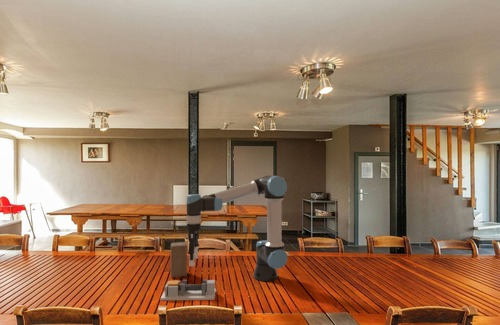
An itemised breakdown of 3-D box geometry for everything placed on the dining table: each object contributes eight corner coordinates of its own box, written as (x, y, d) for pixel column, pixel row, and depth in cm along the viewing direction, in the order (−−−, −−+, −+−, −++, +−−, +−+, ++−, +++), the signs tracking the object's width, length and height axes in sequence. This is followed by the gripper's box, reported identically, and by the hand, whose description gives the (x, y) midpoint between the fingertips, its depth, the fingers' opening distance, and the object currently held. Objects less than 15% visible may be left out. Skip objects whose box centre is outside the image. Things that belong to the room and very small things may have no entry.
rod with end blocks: (214, 291, 170) (214, 280, 170) (214, 294, 165) (214, 283, 165) (169, 291, 169) (170, 280, 169) (167, 295, 164) (168, 283, 164)
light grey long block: (215, 290, 173) (216, 277, 173) (214, 299, 161) (214, 285, 161) (165, 291, 172) (165, 278, 172) (160, 300, 160) (160, 286, 160)
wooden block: (170, 278, 193) (171, 246, 193) (170, 272, 202) (170, 242, 203) (186, 276, 195) (187, 245, 196) (185, 271, 205) (186, 241, 206)
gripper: (190, 219, 180) (190, 255, 179) (182, 227, 155) (182, 269, 154) (203, 219, 180) (203, 255, 180) (197, 227, 155) (197, 269, 155)
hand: (193, 262), depth 167 cm, fingers open, 13 cm apart
